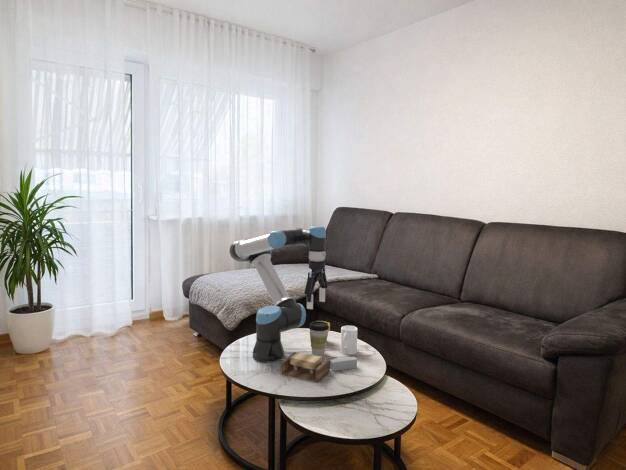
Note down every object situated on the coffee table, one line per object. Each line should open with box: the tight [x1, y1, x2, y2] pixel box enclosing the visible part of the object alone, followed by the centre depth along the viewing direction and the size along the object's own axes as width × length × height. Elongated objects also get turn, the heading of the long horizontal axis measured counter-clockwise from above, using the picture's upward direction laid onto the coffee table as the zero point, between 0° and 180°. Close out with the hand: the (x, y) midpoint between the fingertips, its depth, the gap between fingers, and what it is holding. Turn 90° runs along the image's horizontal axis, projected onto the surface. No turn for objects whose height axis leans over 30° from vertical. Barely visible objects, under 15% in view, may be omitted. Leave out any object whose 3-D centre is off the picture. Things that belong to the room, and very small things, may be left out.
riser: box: [330, 356, 358, 372], centre depth 191 cm, size 12×3×4 cm, turn 110°
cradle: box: [280, 351, 331, 383], centre depth 186 cm, size 18×12×6 cm, turn 65°
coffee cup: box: [308, 320, 329, 357], centre depth 207 cm, size 10×10×15 cm
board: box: [290, 351, 323, 370], centre depth 186 cm, size 12×7×3 cm, turn 65°
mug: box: [339, 325, 358, 356], centre depth 209 cm, size 12×8×12 cm
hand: (316, 305), depth 197 cm, fingers open, 13 cm apart
